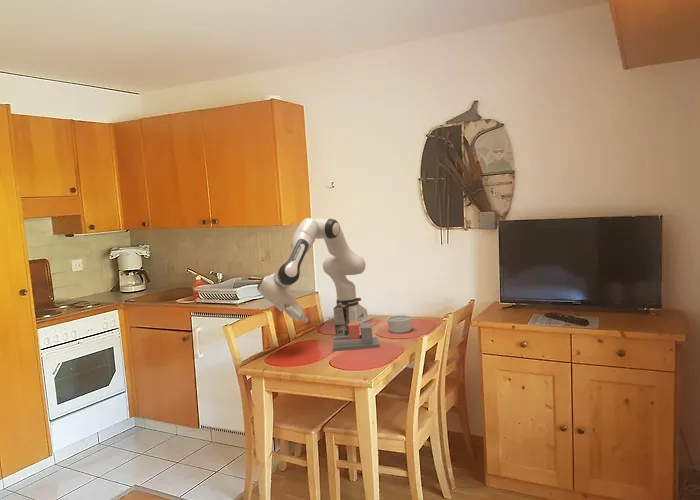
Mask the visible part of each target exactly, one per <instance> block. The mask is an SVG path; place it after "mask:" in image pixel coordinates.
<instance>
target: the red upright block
mask: <svg viewBox="0 0 700 500" xmlns="http://www.w3.org/2000/svg"><path fill="white" fill-rule="evenodd" d="M348 327H349V340H351V339H360V335H361V333H360V324H359V323H358V322H355V323H348Z"/></svg>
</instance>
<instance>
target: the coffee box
mask: <svg viewBox="0 0 700 500" xmlns="http://www.w3.org/2000/svg"><path fill="white" fill-rule="evenodd" d="M333 318H334V319H333V320H334V321H333V322H334V333H335V335H334V336H335V337H339V336H349V327H348V323H350V320H349V308H348V305H337V304H336V306H334V307H333Z"/></svg>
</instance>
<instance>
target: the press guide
mask: <svg viewBox="0 0 700 500" xmlns="http://www.w3.org/2000/svg"><path fill="white" fill-rule="evenodd" d="M359 326H360V339H351V340H349V336H339V337H336V336H333V337H332V348H333V349H332V351H333V352H339V351H341V352H342V351H351V350H362V349H375V348H377V349H378V348H380V347H381V346H380V341H379V337H377V336H374V337H373V327H372V324H371V322H364V323H361V324H359Z"/></svg>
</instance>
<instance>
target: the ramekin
mask: <svg viewBox="0 0 700 500" xmlns="http://www.w3.org/2000/svg"><path fill="white" fill-rule="evenodd" d="M387 324H388V325H387V326H388V329H389V331H390V333H394V334H404V333H405V332H406V333H409V332H410V331H411V330H412V328H413V327H412V325H413V316H411V315H406V314H405V315H404V314H402V315H393V316H388V317H387Z"/></svg>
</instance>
